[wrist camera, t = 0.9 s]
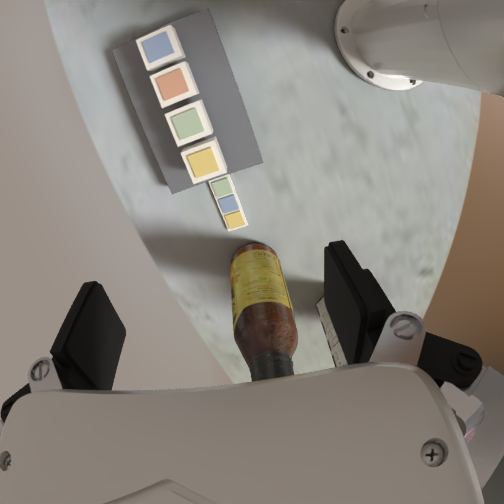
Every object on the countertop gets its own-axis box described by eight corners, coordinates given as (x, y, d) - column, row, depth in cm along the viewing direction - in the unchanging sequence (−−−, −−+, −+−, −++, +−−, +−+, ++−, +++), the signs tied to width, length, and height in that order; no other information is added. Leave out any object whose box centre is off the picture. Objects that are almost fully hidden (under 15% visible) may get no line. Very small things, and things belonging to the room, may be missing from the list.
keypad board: (118, 51, 22) (111, 50, 21) (209, 13, 21) (208, 8, 20) (175, 187, 31) (172, 194, 30) (261, 157, 30) (263, 162, 29)
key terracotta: (159, 76, 23) (148, 76, 20) (190, 63, 23) (184, 61, 20) (170, 105, 25) (161, 108, 22) (201, 92, 24) (196, 94, 21)
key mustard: (186, 144, 27) (180, 153, 24) (216, 133, 27) (214, 140, 24) (197, 172, 29) (193, 185, 26) (227, 162, 29) (226, 173, 25)
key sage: (172, 110, 25) (164, 114, 22) (203, 98, 25) (199, 100, 22) (184, 139, 27) (177, 147, 24) (214, 127, 26) (212, 134, 23)
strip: (208, 180, 31) (207, 181, 31) (229, 172, 31) (229, 174, 30) (228, 229, 35) (228, 232, 34) (248, 223, 35) (248, 226, 34)
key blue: (146, 44, 21) (134, 40, 18) (177, 31, 21) (170, 24, 18) (157, 71, 23) (146, 70, 20) (188, 58, 22) (181, 55, 19)
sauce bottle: (220, 255, 37) (217, 400, 20) (264, 231, 35) (293, 375, 19) (247, 289, 40) (259, 426, 23) (288, 269, 39) (323, 405, 22)
